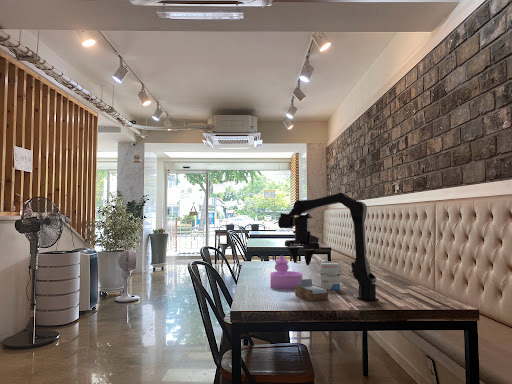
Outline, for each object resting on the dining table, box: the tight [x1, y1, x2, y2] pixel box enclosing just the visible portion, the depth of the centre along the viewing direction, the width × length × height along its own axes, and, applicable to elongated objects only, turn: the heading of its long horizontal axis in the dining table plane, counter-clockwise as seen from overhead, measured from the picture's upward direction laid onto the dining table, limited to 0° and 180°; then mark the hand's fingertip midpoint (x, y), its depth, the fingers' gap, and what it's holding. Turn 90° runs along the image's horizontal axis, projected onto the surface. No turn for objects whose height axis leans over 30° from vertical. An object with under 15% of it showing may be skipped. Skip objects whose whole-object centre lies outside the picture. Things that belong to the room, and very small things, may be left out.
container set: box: [269, 255, 303, 291], centre depth 186 cm, size 25×15×13 cm, turn 6°
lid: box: [300, 278, 327, 294], centre depth 155 cm, size 10×7×4 cm, turn 25°
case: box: [294, 283, 329, 303], centre depth 155 cm, size 12×8×4 cm, turn 25°
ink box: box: [320, 262, 341, 291], centre depth 176 cm, size 8×5×12 cm, turn 84°
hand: (301, 264), depth 167 cm, fingers open, 9 cm apart
